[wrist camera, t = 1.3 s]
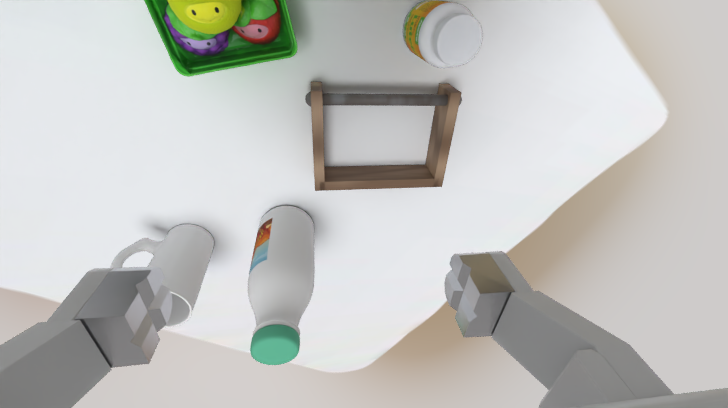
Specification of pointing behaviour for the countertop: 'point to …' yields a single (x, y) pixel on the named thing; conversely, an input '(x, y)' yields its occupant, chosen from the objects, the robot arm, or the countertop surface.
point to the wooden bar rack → (389, 174)
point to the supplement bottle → (442, 33)
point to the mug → (177, 265)
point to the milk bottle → (280, 283)
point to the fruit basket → (223, 32)
